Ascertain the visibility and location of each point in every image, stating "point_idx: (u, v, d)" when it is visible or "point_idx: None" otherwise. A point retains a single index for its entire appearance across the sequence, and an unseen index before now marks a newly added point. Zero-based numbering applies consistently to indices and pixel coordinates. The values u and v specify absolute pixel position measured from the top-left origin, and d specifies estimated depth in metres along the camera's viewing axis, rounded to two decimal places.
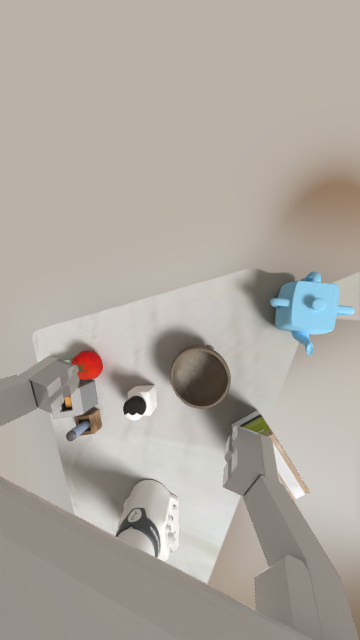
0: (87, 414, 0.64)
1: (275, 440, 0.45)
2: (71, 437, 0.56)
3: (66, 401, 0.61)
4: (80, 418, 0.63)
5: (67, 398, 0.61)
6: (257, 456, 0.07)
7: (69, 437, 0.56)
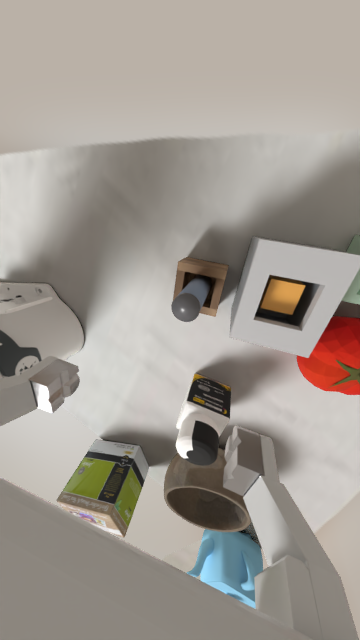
0: None
1: None
2: (181, 310, 0.18)
3: (288, 287, 0.19)
4: (218, 285, 0.23)
5: (296, 294, 0.19)
6: (257, 456, 0.07)
7: (183, 304, 0.18)
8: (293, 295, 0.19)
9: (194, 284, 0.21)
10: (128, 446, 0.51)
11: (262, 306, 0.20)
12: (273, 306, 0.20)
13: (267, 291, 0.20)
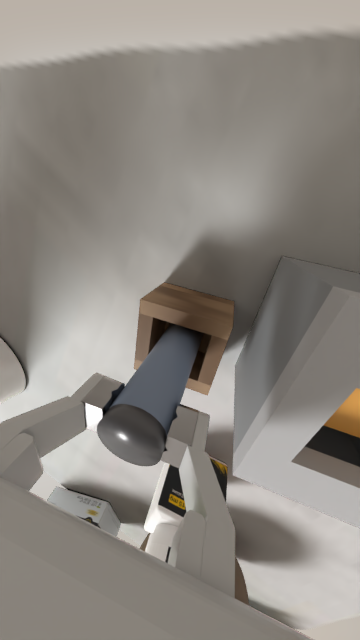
0: None
1: None
2: (120, 443, 0.08)
3: None
4: (214, 348, 0.12)
5: None
6: (189, 430, 0.07)
7: (122, 434, 0.07)
8: None
9: (164, 356, 0.10)
10: (94, 502, 0.40)
11: None
12: (332, 420, 0.09)
13: None
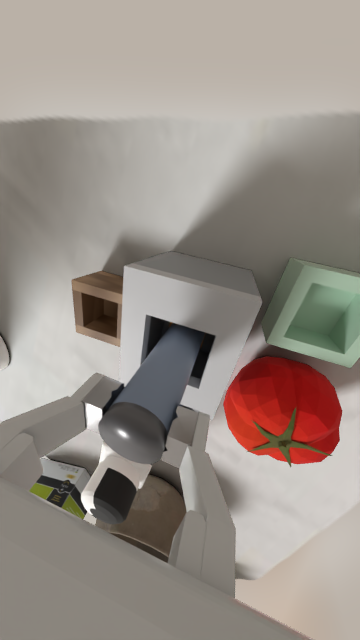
0: None
1: None
2: (121, 440, 0.08)
3: None
4: (121, 312, 0.18)
5: None
6: (190, 430, 0.07)
7: (123, 432, 0.07)
8: None
9: (166, 355, 0.10)
10: (73, 468, 0.46)
11: None
12: None
13: None
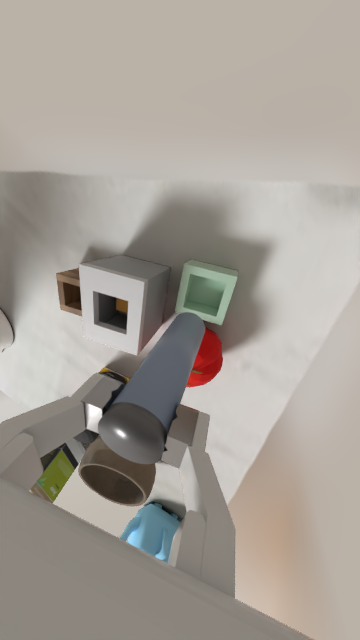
0: None
1: None
2: (120, 441, 0.08)
3: None
4: None
5: None
6: (190, 430, 0.07)
7: (123, 432, 0.07)
8: None
9: (165, 355, 0.10)
10: None
11: (117, 308, 0.27)
12: (123, 309, 0.27)
13: None
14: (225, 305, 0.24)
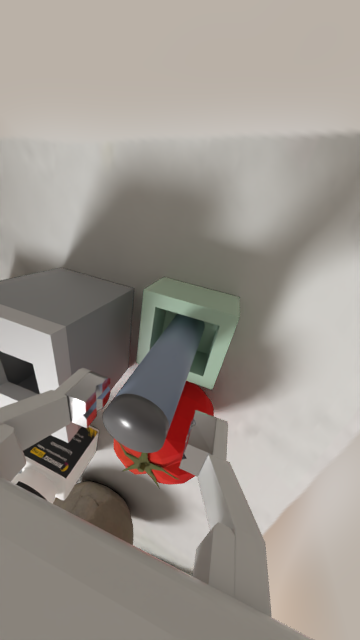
0: None
1: None
2: (124, 430, 0.08)
3: None
4: None
5: None
6: (209, 438, 0.07)
7: (127, 422, 0.08)
8: None
9: (166, 350, 0.11)
10: None
11: None
12: None
13: None
14: (217, 360, 0.14)
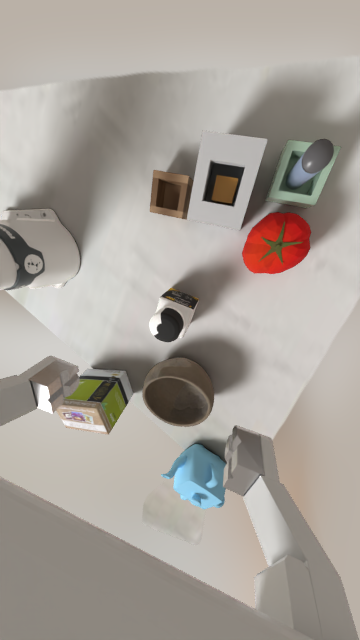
0: (185, 204, 0.32)
1: (103, 433, 0.50)
2: (313, 158, 0.21)
3: (228, 180, 0.28)
4: (183, 189, 0.31)
5: (232, 185, 0.28)
6: (258, 457, 0.07)
7: (317, 151, 0.20)
8: (231, 187, 0.28)
9: None
10: (116, 371, 0.59)
11: (212, 198, 0.30)
12: (219, 197, 0.29)
13: (215, 185, 0.29)
14: (322, 181, 0.26)
